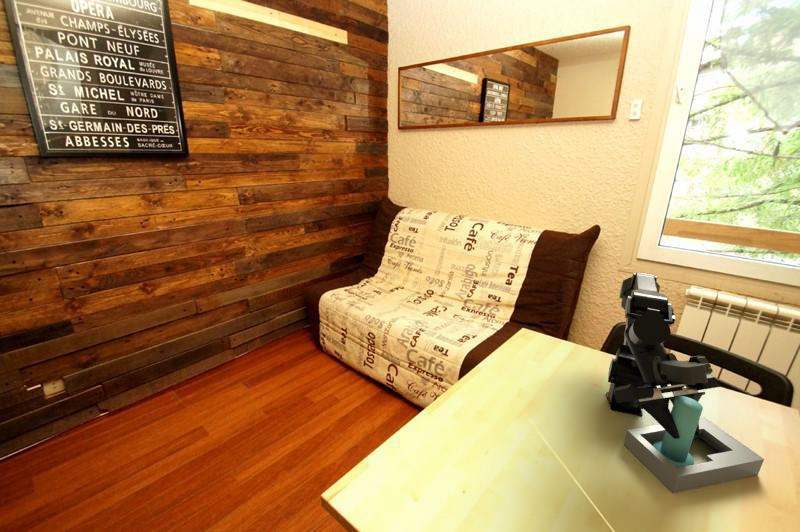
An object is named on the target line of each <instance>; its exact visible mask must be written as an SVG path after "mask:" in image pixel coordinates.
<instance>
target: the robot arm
mask: <svg viewBox="0 0 800 532" xmlns="http://www.w3.org/2000/svg"><path fill="white" fill-rule="evenodd" d="M657 280H658V279H657V275H654V273H653V274H651V273H645V272H638V271H636V272H633V273H632V276H630V277H628V278H626V279H624V280H622V284H621V285H620V291H619V295H618V296H619V299H621V302H620V303H621V304H620V306H621V307H622V309H623V310H624V319H626V321H625V328H624V329H625V330H624V333H623V336H624V339H623V340H624V341H623V343H622V344H620V345H619V347H618V349H617V351H616V354H615V358H612V359H611V361H610V364H609V367H608V372H607V373H608V374H607V375H608V376H607V383H610V385H609V390H608V391H606V392H605V396H606V399H607V402H608V405H609V409H610V410H611V411H614V412H619V413H623V414H629V415H635V416H640V417H643V415H644V414H643V413H644V412H643V411H645V412H646V413H647V414H649V415H650V416H651V417H652V418H653V419H654V420H655V421H656V422H657V423H658V425H661V426H662V427H663V428H664V429H665V430H666V431H667V432H668V433H669V434H670V435H671V436H672V437H673V438H674V439H679V438H680V436H679V433H678V430H677V427H676V425H675V422H674V420H673V417H672V415H671V410H670V408H669V405H670V404H669V403H670V402H671V404H672V405H673V404H674V401H675V398H676V397H677V396H685V397H688V398H691V399H694V400H695V401H697V402H699V401H700V399H701V398H702V396H705V395H706V391H705V390H709V389H715V388H720V387H721V386H720V384H719V382H718V380H717V379H716V377H715V376H714V375H712V374H713V371H714V370H713V368H712V365H711V364H710V362H709V360H708V359H707V357H706V356H703V355H695V356H693V355H692V356H690V357H689V358H688V360H678V359H677V356H676V355H675V354H674V353H673V352H669V353H668V352H667V350H666V348H665V346H664V343H665V342H667V341H668V340H669V338H670V336H671V332H672V331H671V326H672V325H674V324H675V322H676V321H675V320H676V313H675V310H674V308H673V306H672V305H673V304H672V303H671V302H669V298H668V297H667V295H665V294H663V293H661V292H660V291H661V290H660V289H661V285H660V284H659V283H658V281H657ZM703 390H704V391H703ZM699 391H700V392H699ZM666 393H672V396H668V397H664V395H663V394H666ZM642 410H643V411H642ZM699 434H700V432H699V422H698V425H697V428H696V431H695V434H694V435H699Z"/></svg>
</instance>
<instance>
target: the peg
mask: <svg viewBox="0 0 800 532" xmlns="http://www.w3.org/2000/svg"><path fill="white" fill-rule="evenodd" d="M703 409H704V407H703V405H702V404H701V403H700V402H699V401H698V402H697V401H695V400H694V399H691V398H688V397H685V396H677V397H676V398H675V401H674V404H672V408H671V410H670V413H671V415H672V417H673V420H674V422H675V425H676V427H677V430H678V433H679V436H680V438H679V439H674V438H673V437H672V436H671V435H670V434H669V433H668V432H667V431H665V435H664V438H663V441H657V442H655V443H654V444H653V447H654V448H655V449H656V450H658V451H659V452H660V453H661V454H662V455H663V456H664V457H665V458H666V459H668V460H669V461H670V462H671V463H672V464H673V465H674V466H675V467H676V468H680V467H685V466H690V465H695V459H694V457H693V456H692V454H691V453H690V450H691V449H690V448H691V446H692V443H693V440H694V439H693V437H694V434H695V431H696V428H697V425H698V422H699V419H700V418H701V415H702V412H703V411H704V410H703Z"/></svg>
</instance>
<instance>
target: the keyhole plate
mask: <svg viewBox="0 0 800 532" xmlns="http://www.w3.org/2000/svg"><path fill="white" fill-rule="evenodd" d="M665 431H666V430H665V429H664V428H663V427H662V426H661V425H660V424H653V425H649V426H643V427H637V428H631V429H627V430H626V434H625V438H624V442H623V446H624V447H625V448H626V449H628V451H629V452H630V453H631V454H632V455H633V456H634V457H636V458H637V459H638V460H639V462H640V463H641V464H643V466H645V467H646V468H647V470H648V471H649V472H651V474H652V475H654V476H655V478H657V480H659V481H660V482H661V483H662V485H664V486H665V487H666V488H667V489H668V491H670V492H671V493H672V494H675V493H679V492H684V491H688V490H689V491H690V490H693V489H699V488H703V487H707V486H712V485H716V484H718V485H719V484H722V483H727V482H730V481H731V482H732V481H735V480H741V479H745V478H749V477H750V478H751V477H756V476H758V475H759V474H760V471H761V468H762V466H763V463H764V461H765V458H763V457H762V456H761V455H759V454H757V452H755V451H754V450H752V449H751V448H750V447H748V446H746V445H745V444H744V443H743V442H741V441H740V440H738V439H737V438H735V437H734V436H732V435H730V434H729V433H728V432H726V431H725V429H722V428H721V427H720V426H718V425H716V423H714V422H713V421H711V420H709V419H708V418H707V417H705V416H702V417H701V416H700V419H699V432H700V434H699V435H694V437H693V440H694V439H699V438H700V439H702V440H704V442H706V443H707V444H708V445H710V446H712V447H713V448H714V449H715V450H716V451H718V452H717V453H713V454H707V455H706V457H705V461H706V462H702V463H694V465H690V466H685V467H680V468H676V467H675V466H674V465H673V464H672V463H671V462H670V461H669V460H668V459H666V458H665V457H664V456H663V455H662V454H661V453H660V452H659V451H658V450H656V449H655V448H654V447H653V444H654V443H655V442H657V441H663V438H664V435H665Z"/></svg>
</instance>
